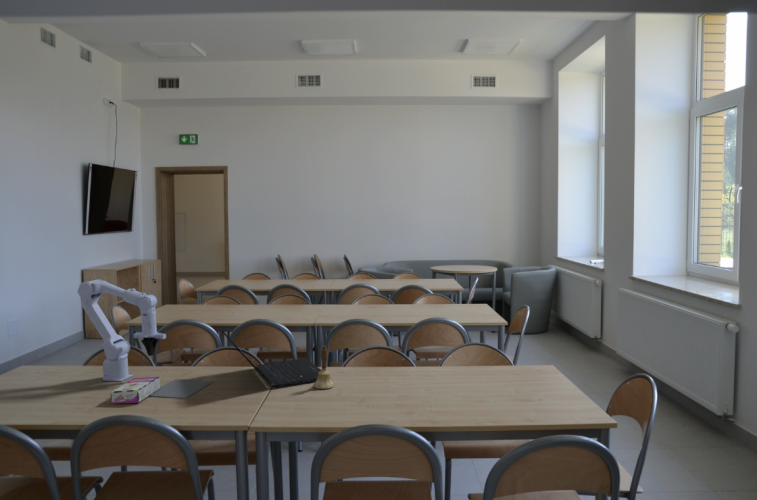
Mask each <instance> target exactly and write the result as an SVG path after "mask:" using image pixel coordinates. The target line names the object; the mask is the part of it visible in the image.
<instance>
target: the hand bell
mask: <svg viewBox="0 0 757 500" xmlns="http://www.w3.org/2000/svg"><path fill="white" fill-rule="evenodd" d="M320 358H321V370H322V371H320V372H319V373H318V378H317V380H316V381H314V382H313V385H312V387H313V388H315V389H319V390H322V389H323V390H327V389H332V388H334V387H335V384H334V383H333V381H332V380H331V377H330V372H329V371H328V370H327V359H328V349H327V345H322V348H321V351H320Z"/></svg>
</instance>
